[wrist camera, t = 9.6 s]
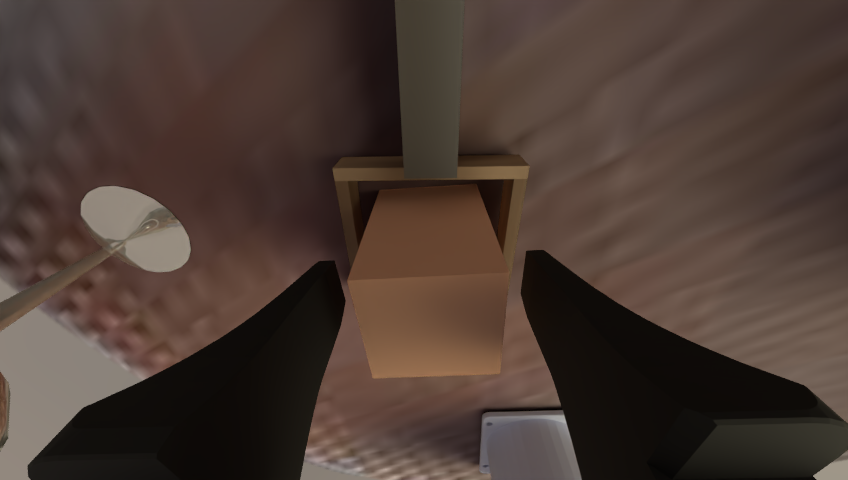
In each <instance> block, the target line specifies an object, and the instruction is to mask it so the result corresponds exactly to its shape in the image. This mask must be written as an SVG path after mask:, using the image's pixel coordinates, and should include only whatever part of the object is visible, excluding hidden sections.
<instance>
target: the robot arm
mask: <svg viewBox="0 0 848 480" xmlns="http://www.w3.org/2000/svg"><path fill="white" fill-rule="evenodd" d="M521 296H522V300H523V304H524V307H525V311H526V315H527V318H528V320H529V323H530V325H531V327H532V330H533V332H534V335H535V337H536V339H537V342H538V344H539V347H540V349H541V351H542V354H543V356H544V358H545V361H546V363H547V366H548V368H549V370H550V373H551V376H552V378H553V381H554V384H555V387H556V390H557V393H558V397H559V400H560V403H561V406H562V410H549V411H511V412H486V413H484V414H483V415H482V426H481V443H480V461H479V470H480V472H481V473H491V480H816V479H815V478H814V477H813V475H814V474H816V473H817V472H819V471H820V470H821V469H823V468H824V467H826V466H827V465H828V464H830V463H831V462H833V461H834V460H835V459H837V458H838V457H840V456H841V455H842V454H843V453H844V452H845V451H847V450H848V423H846V422H845V421H844V420H843V419H842V418H841V417H840V416H838V415H837V414H836V413H835V412H834V411H833V410H832V409H831V408H829V407H828V406H827V405H826V404H825V403H824V402H823V401H822V400H820V399H819V398H818V397H817V396H816V395H815V394H814V393H813V392H811V391H810V390H809V389H808V388H807V387H806V386H804V385H801V384H799V383H796V382H793V381H790V380H788V379H785V378H782V377H779V376H777V375H774V374H771V373H768V372H766V371H763V370H760V369H757V368H755V367H752V366H749V365H746V364H744V363H741V362H739V361H736V360H734V359H731V358H729V357H726V356H724V355H721V354H719V353H717V352H714V351H712V350H709V349H707V348H705V347H702V346H700V345H698V344H696V343H693V342H691V341H689V340H687V339H685V338H682V337H680V336H678V335H676V334H674V333H672V332H670V331H668V330H666V329H664V328H662V327H660V326H658V325H656V324H654V323H652V322H650V321H648V320H646V319H645V318H643V317H641V316H639V315H637V314H636V313H634V312H632V311H630V310H629V309H627V308H625V307H623V306H622V305H620V304H618V303H617V302H615V301H614V300H612V299H611V298H609V297H607V296H606V295H604V294H603V293H601V292H600V291H598V290H597V289H595V288H594V287H592V286H591V285H590V284H588V283H587V282H585V281H584V280H583V279H581V278H580V277H578V276H577V275H576V274H574V273H573V272H572V271H570V270H569V269H568V268H567V267H565V266H564V265H563V264H561V263H560V262H559V261H557V260H556V259H555V258H553V257H552V256H551V255H550V254H548V253H547V252H545V251H544V250H532V251H526V257H525V264H524V272H523V279H522V287H521ZM345 301H346V300H345V297H344V293H343V289H342V286H341V282H340V279H339V275H338V271H337V268H336V264H335V261H319V262H317V263H316V264H315V265H314V266H312V267H311V268H310V269H309V270H308V271H307V272H305V273H304V274H303V275H302V276H301V277H300V278H299V279H297V280H296V281H295V282H294V283H293V284H292V285H290V286H289V287H288V288H287V289H286V290H285V291H283V292H282V293H281V294H280V295H279V296H278V297H276V298H275V299H274V300H272V301H271V302H270V303H269V304H267V305H266V306H265V307H264V308H262V309H261V310H260V311H259V312H257V313H256V314H255V315H253V316H252V317H251V318H249V319H248V320H246V321H245V322H244V323H242V324H241V325H239V326H238V327H236V328H235V329H233V330H232V331H230V332H229V333H227V334H226V335H224V336H223V337H221V338H220V339H218V340H216V341H215V342H213V343H211V344H210V345H208V346H206V347H205V348H203V349H201V350H199V351H198V352H196V353H194V354H193V355H191V356H189V357H188V358H186V359H184V360H182V361H180V362H178V363H176V364H175V365H173V366H171V367H169V368H167V369H165V370H163V371H161V372H159V373H157V374H155V375H153V376H151V377H149V378H147V379H145V380H143V381H141V382H139V383H137V384H135V385H133V386H131V387H128V388H126V389H124V390H122V391H120V392H117V393H115V394H113V395H111V396H108V397H106V398H104V399H102V400H100V401H97V402H96V403H93V404H91V405H88V406H86V407H84V408H83V409H81V410H80V411H79V412H78V413H77V414H76V416H75V417H74V418H73V419H72V420H71V421H70V422H69V423H68V424H67V425H66V426H65V427H64V428H63V429H62V430H61V431H60V432H59V433H58V434H57V435H56V436H55V437H54V438H53V439H52V441H51V442H50V443H49V444H48V445H47V446H46V447H45V448H44V449H43V450H42V451H41V452H40V453H39V454H38V455H37V456H36V457H35V458H34V460H32V461H31V462H30V464H29V465H28V477H29V478H30V479H31V480H300V477H301V472H302V466H303V461H304V456H305V450H306V445H307V441H308V436H309V431H310V427H311V422H312V417H313V413H314V409H315V405H316V400H317V396H318V392H319V388H320V385H321V382H322V378H323V376H324V373H325V370H326V367H327V364H328V361H329V358H330V355H331V353H332V350H333V347H334V344H335V341H336V338H337V335H338V332H339V329H340V326H341V322H342V317H343V312H344V307H345Z"/></svg>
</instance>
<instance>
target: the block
mask: <svg viewBox="0 0 848 480" xmlns="http://www.w3.org/2000/svg"><path fill="white" fill-rule="evenodd" d="M509 273H510V272H509V269H508V267H507V264H506V261H505V259H504V256H503V253H502V251H501V248H500V245H499V243H498V240H497V237H496V235H495V232H494V229H493V227H492V224H491V222H490V219H489V216H488V214H487V211H486V208H485V206H484V203H483V200H482V198H481V195H480V192H479V190H478V187H477V184H463V185H448V186H432V187H417V188H401V189H386V190H379V193H378V196H377V199H376V201H375V204H374V207H373V210H372V212H371V215H370V218H369V221H368V224H367V226H366V229H365V232H364V235H363V238H362V240H361V243H360V246H359V249H358V252H357V254H356V257H355V260H354V263H353V266H352V268H351V271H350V274H349V277H348V280H347V282H348V286H349V290H350V293H351V297H352V301H353V305H354V308H355V312H356V316H357V320H358V323H359V327H360V331H361V335H362V339H363V342H364V346H365V350H366V354H367V357H368V361H369V365H370V369H371V372H372V376H373V378H399V377H428V376H457V375H486V374H500V367H501V357H502V346H503V336H504V326H505V315H506V305H507V294H508V284H509Z"/></svg>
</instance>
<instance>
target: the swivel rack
mask: <svg viewBox="0 0 848 480" xmlns="http://www.w3.org/2000/svg"><path fill="white" fill-rule="evenodd" d="M464 1H465V0H395V15H396V34H397V53H398V71H399V90H400V109H401V127H402V146H403V156H384V157H342V158H341V159H340V160H339V161H338V162H337V164H336V165H335V166H334V167H333V168H332V169H333V175H334V180H335V186H336V191H337V197H338V202H339V208H340V214H341V219H342V225H343V230H344V236H345V241H346V247H347V252H348V258H349V263H350V269H351V268H352V266H353V263H354V260H355V257H356V254H357V252H358V249H359V246H360V243H361V240H362V238H363V235H364V226H363V219H362V211H361V204H360V197H359V190H358V183H357V181H388V180H472V179H504V183H503V191H502V198H501V206H500V214H499V222H498V230H497V240H498V243H499V245H500V248H501V251H502V253H503V256H504V259H505V261H506V264H507V267H508V269H509V272H510V273H509V284H510V278H511V272H512V266H513V260H514V254H515V248H516V243H517V237H518V231H519V225H520V219H521V213H522V207H523V201H524V196H525V190H526V184H527V178H528V172H529V165H528V164H527V163H526V162H525V161H524V159H523V158H522V157H521V156H520V155H459V156H458V142H459V119H460V95H461V71H462V48H463V24H464ZM509 284H508V290H509ZM507 295H508V294H507Z"/></svg>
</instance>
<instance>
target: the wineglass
mask: <svg viewBox="0 0 848 480" xmlns="http://www.w3.org/2000/svg"><path fill="white" fill-rule="evenodd" d="M81 217H82V219H83V222H84V225H85V227H86V229H87V230H88V232H89V233H90V234H91V236H92V237H93V239H94V240H95V241H96V242H97V243H98V244H99V245H100V246H101V247H102V248H101V249H100V250H98V251H96V252H94V253H92V254H90V255H88V256H87V257H85V258H83V259H81V260H79V261H77V262H75V263H73V264H72V265H70V266H68V267H66V268H64V269H62V270H60V271H59V272H57V273H55V274H53V275H51V276H49V277H47V278H45V279H44V280H42V281H40V282H38V283H36V284H34V285H32V286H31V287H29V288H27V289H25V290H23V291H21V292H19V293H18V294H16V295H14V296H12V297H10V298H9V299H6V300H4V301H3V302H1V303H0V332H1V331H2V330H4V329H5V328H6V327H8V326H9V325H11V324H12V323H14V322H15V321H17V320H18V319H19V318H21V317H22V316H24V315H25V314H27V313H28V312H29V311H31V310H32V309H34V308H35V307H37V306H38V305H40V304H41V303H43V302H44V301H46V300H47V299H48V298H50V297H51V296H53V295H54V294H56V293H57V292H59V291H60V290H61V289H63V288H64V287H66V286H67V285H69V284H70V283H72V282H73V281H74V280H76V279H77V278H79V277H80V276H82V275H83V274H85V273H86V272H88V271H89V270H90V269H92V268H93V267H95V266H96V265H98V264H99V263H101V262H102V261H103V260H105V259H106V258H108V257H109V256H111V255H113V256H114V257H116V258H117V259H119V260H121V261H122V262H124V263H126V264H129V265H131V266H134V267H136V268H139V269H142V270H148V271H153V272H170V271H173V270H175V269H178V268H181V267H182V266H183V265H184V264H185V263H186V262H187V261H188V259H189V255H190V251H191V247H190V241H189V237H188V235H187V233H186V231H185V229H184V228H183V226H182V224H181V223H180V222H179V221H178V219H177V218H176V217H175V216H174V215H173V214H172V213H171V212H170V211H169V210H168V209H167V208H165V207H164V206H162V205H161V204H160V203H158V202H157V201H156V200H154V199H153V198H151V197H148V196H146V195H144V194H142V193H140V192H138V191H135V190H132V189H127V188H123V187H118V186H105V187H98V188H96V189H94V190H92V191H90V192H88V193H87V194H86V196H85V197H84V199H83V200H82V202H81ZM9 407H10V389H9V383H8V381H7V380H6V379H5V377H4V376H3V375H2V373H1V372H0V451H1V449H2V448H3V446H4V444H5V443H6V441H7V439H8V428H9Z"/></svg>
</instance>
